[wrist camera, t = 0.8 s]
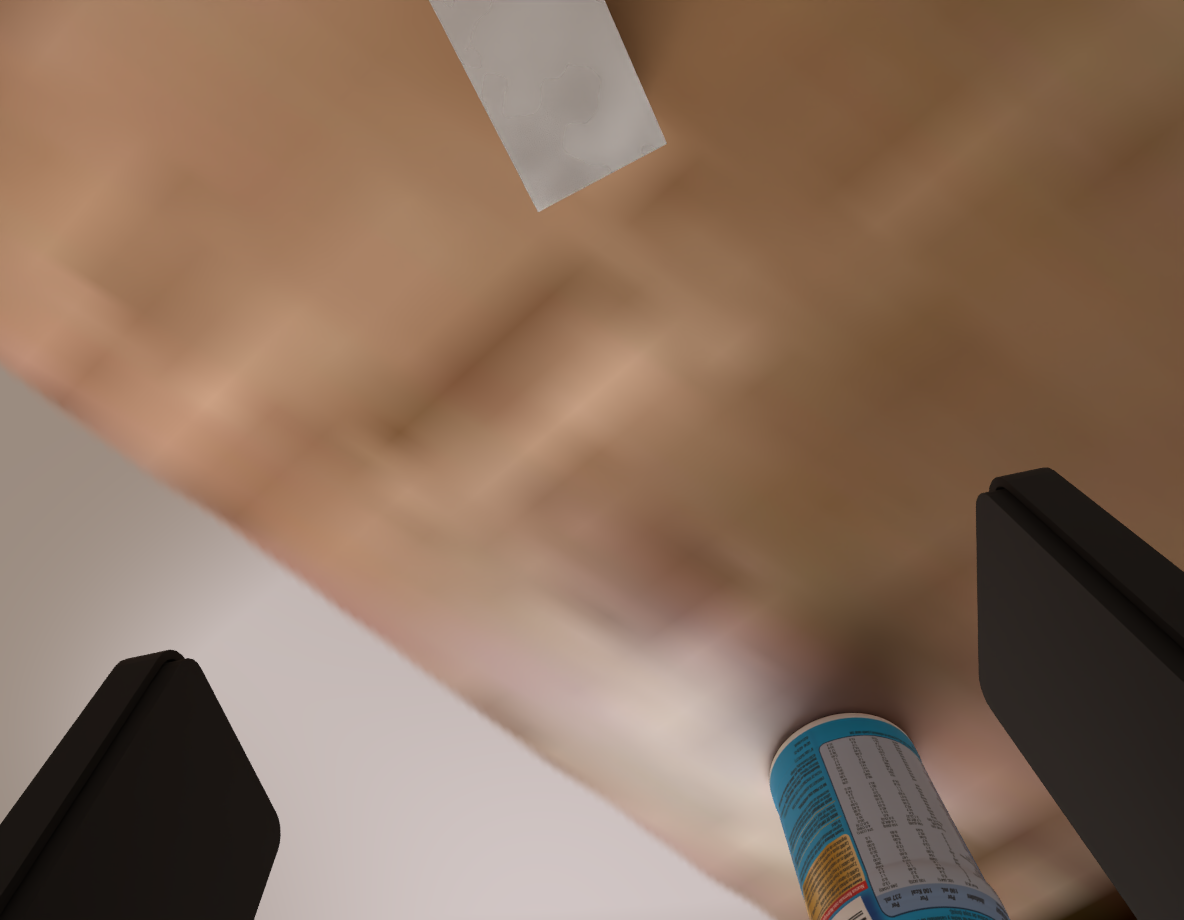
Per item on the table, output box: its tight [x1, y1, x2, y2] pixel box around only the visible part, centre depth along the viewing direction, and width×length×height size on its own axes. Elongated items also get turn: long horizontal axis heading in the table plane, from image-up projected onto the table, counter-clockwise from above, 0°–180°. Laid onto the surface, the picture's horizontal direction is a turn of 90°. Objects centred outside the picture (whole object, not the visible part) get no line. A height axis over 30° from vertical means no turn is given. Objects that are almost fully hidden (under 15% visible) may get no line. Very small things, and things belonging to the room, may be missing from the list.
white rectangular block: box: [429, 0, 667, 212], centre depth 27 cm, size 4×6×10 cm, turn 27°
